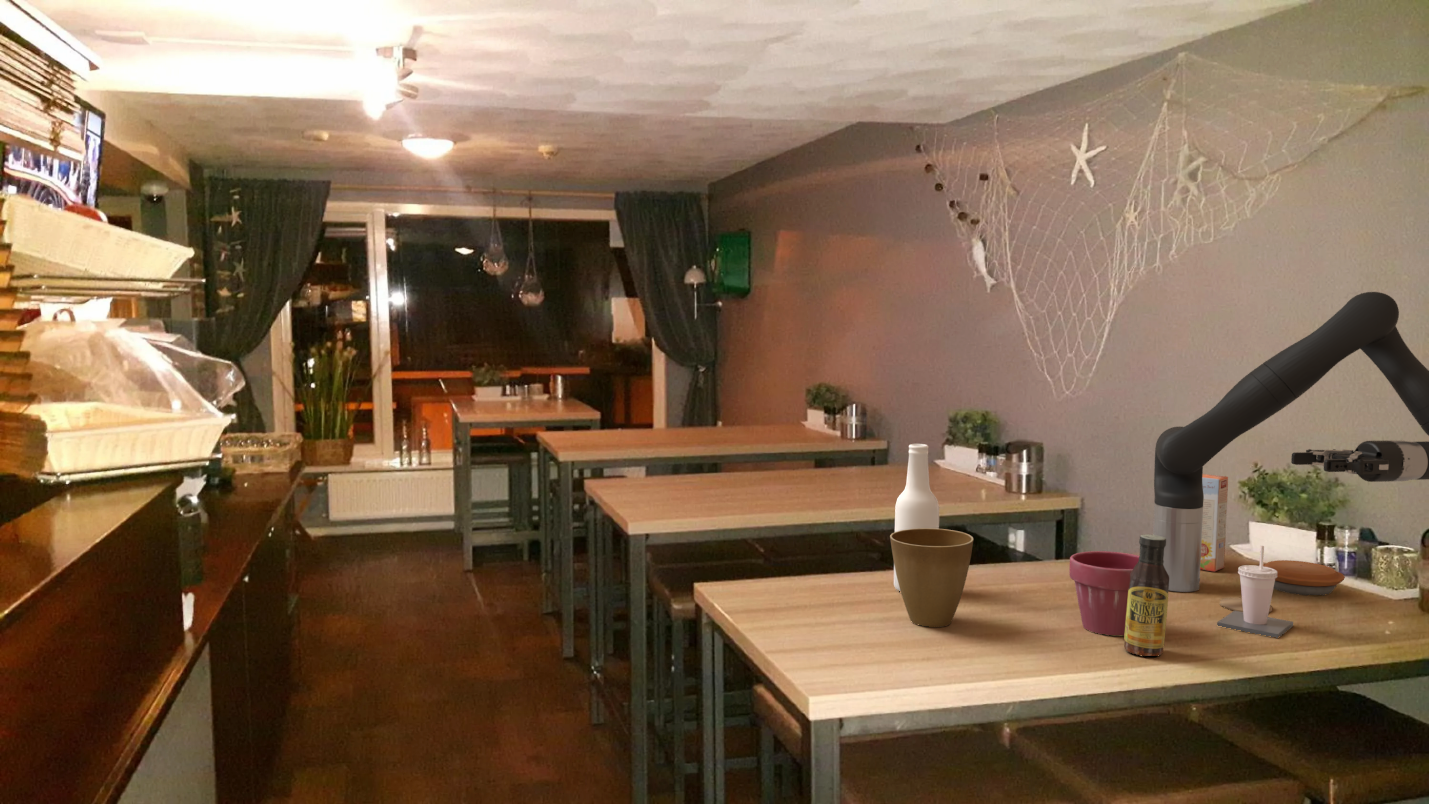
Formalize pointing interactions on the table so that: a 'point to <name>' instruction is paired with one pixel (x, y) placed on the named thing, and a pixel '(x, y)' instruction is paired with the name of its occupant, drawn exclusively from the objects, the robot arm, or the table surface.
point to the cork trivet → (1234, 604)
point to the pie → (1304, 577)
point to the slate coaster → (1256, 625)
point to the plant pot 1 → (931, 572)
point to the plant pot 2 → (1102, 589)
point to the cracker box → (1214, 522)
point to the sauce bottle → (1147, 600)
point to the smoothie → (1256, 590)
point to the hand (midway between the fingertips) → (1308, 462)
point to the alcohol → (916, 497)
